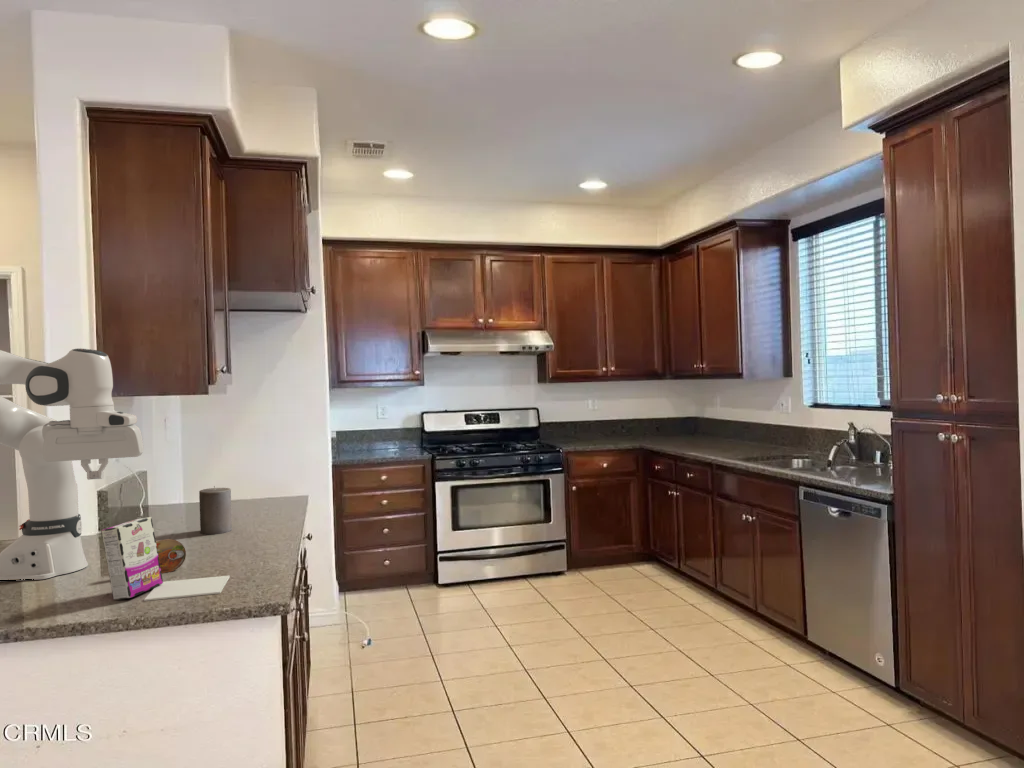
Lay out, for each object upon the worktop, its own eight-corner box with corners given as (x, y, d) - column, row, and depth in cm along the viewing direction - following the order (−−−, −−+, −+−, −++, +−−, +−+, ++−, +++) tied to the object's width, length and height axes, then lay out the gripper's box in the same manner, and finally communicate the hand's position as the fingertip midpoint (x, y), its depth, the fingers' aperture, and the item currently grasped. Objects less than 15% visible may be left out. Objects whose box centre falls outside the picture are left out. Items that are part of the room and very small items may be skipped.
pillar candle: (194, 535, 227) (193, 488, 227) (208, 528, 237) (207, 483, 237) (224, 534, 227) (223, 488, 227) (237, 527, 237) (235, 483, 236)
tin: (121, 580, 177) (119, 546, 177) (120, 577, 180) (118, 544, 180) (186, 569, 185) (185, 537, 185) (184, 567, 188) (183, 535, 188)
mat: (144, 601, 159) (144, 599, 159) (160, 583, 173) (159, 581, 173) (220, 593, 163) (220, 591, 163) (229, 577, 176) (229, 575, 176)
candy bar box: (146, 585, 171) (135, 518, 171) (164, 583, 170) (153, 516, 170) (111, 600, 160) (99, 529, 160) (130, 598, 159) (118, 526, 159)
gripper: (35, 422, 157) (38, 484, 158) (136, 417, 162) (139, 477, 162) (47, 420, 164) (50, 480, 164) (144, 416, 168) (146, 474, 168)
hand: (95, 478), depth 163 cm, fingers closed
